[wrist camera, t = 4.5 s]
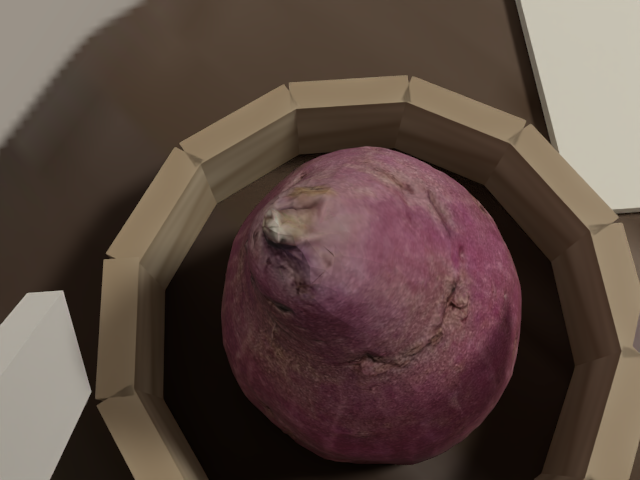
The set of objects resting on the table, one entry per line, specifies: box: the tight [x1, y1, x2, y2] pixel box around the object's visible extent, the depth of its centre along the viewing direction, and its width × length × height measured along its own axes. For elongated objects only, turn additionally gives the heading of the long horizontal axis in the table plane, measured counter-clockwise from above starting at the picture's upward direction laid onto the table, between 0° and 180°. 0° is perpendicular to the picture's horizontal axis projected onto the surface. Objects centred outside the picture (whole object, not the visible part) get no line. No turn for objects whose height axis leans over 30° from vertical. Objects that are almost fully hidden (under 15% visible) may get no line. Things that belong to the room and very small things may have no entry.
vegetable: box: [221, 146, 522, 465], centre depth 16 cm, size 10×10×15 cm
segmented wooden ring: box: [95, 75, 640, 480], centre depth 20 cm, size 18×18×4 cm
